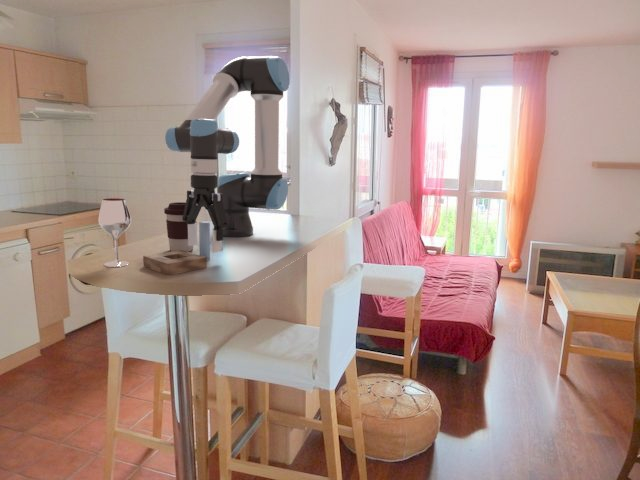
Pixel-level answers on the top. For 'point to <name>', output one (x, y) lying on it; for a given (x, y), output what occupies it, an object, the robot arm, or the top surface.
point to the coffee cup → (177, 227)
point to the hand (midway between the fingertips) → (204, 248)
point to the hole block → (175, 262)
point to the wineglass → (114, 223)
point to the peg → (204, 239)
